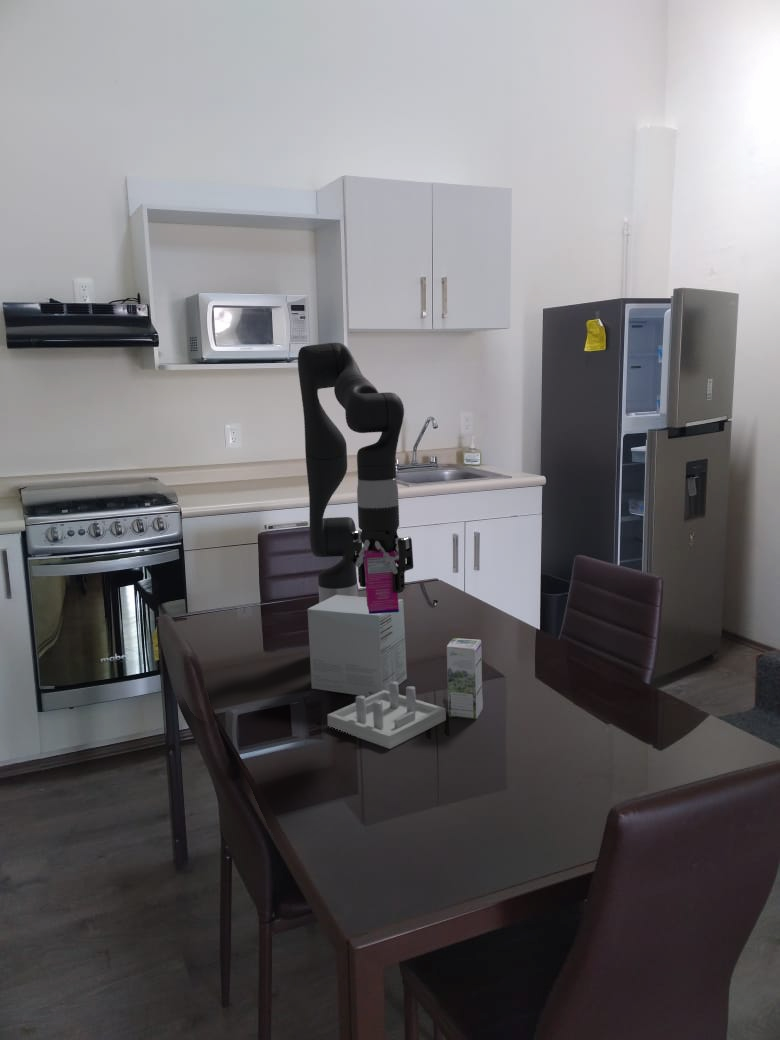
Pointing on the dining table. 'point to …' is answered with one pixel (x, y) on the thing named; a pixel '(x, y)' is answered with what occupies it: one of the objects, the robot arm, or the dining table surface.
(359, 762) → the dining table surface
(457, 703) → the syrup box
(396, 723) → the tray
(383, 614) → the supplement box
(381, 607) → the supplement box
